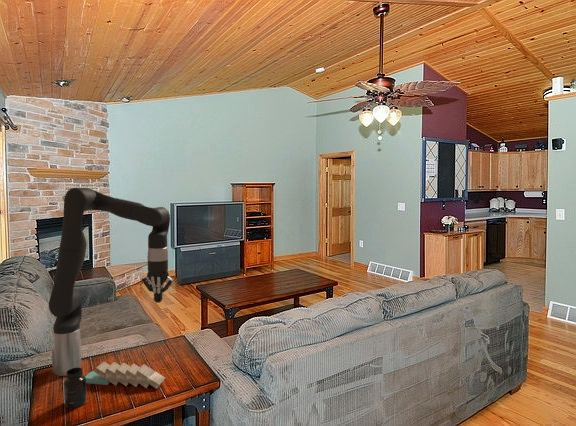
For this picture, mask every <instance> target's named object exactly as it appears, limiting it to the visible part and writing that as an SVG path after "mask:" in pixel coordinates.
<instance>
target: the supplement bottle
mask: <svg viewBox="0 0 576 426" xmlns="http://www.w3.org/2000/svg"><path fill="white" fill-rule="evenodd" d="M83 373H84V372H83V368H82V367H81V368H72V369H70V370H68V371H67V372H66V378H65V379H64V381H63V383H62V384H63V399H64V401H63V402H64V406H65V408H67V409H71V410H72V409H76V408H80V407H82V406H83V405H85V403H87V401H88V400H87V399H88V397H87V395H88V393H87V392H88V391H87V383H86V377H85V376H86V375H84V374H83Z"/></svg>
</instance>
